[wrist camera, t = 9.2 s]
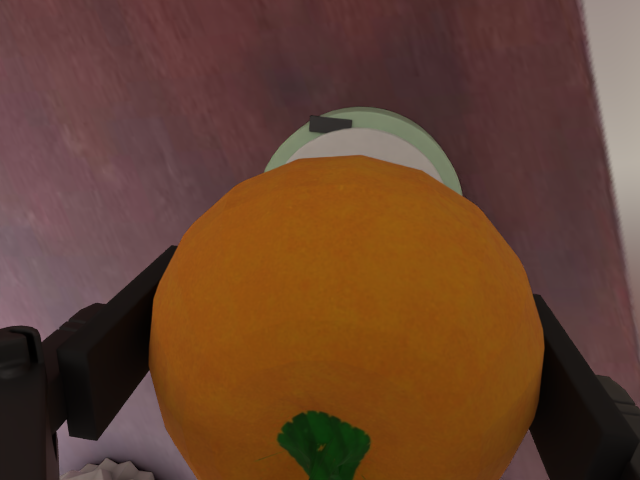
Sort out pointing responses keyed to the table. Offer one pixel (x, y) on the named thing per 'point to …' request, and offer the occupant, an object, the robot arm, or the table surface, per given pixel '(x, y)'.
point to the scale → (368, 142)
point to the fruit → (345, 331)
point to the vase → (108, 472)
